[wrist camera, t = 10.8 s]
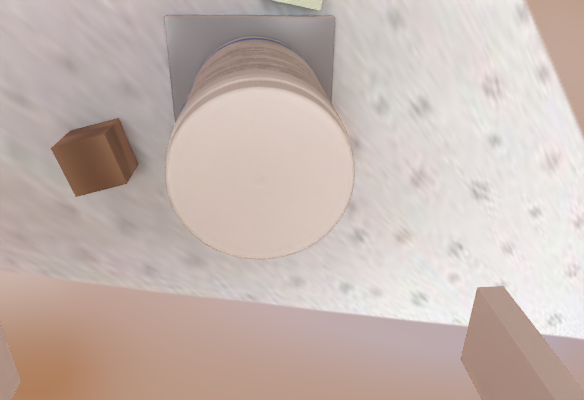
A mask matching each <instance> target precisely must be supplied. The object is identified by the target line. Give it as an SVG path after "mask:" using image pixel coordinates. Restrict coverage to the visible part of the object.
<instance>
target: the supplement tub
mask: <svg viewBox="0 0 584 400" xmlns="http://www.w3.org/2000/svg"><path fill="white" fill-rule="evenodd" d="M354 177H355V168H354V159H353V155H352V150H351V145H350V142H349V138H348V135H347V132H346V130H345V128H344V126H343V124H342V122H341V120H340V118H339V116H338V114H337V112H336V111H335V109H334V107H333V105H332V104H331V102H330V100H329V98H328V97H327V95H326V93H325V91H324V90H323V88H322V86H321V84H320V83H319V81H318V79H317V77H316V75H315V74H314V72H313V70H312V69H311V67H310V66H309V64H308V63H307V62H306V61H305V59H304V58H303V57H302V56H301V55H300V54H299V53H298V52H297V51H295V50H294V49H293V48H291V47H290V46H288V45H286V44H284V43H282V42H280V41H278V40H275V39H271V38H267V37H257V36H251V37H243V38H238V39H235V40H233V41H230V42H228V43H226V44H224V45H222V46H220V47H219V48H218V49H216V50H215V51H214V52H213V53H212V54H211V55H210V56H209V57H208V58H207V59H206V60H205V61H204V63H203V64H202V66H201V67H200V69H199V71H198V73H197V75H196V77H195V79H194V81H193V84H192V86H191V88H190V90H189V93H188V95H187V97H186V99H185V101H184V104H183V106H182V108H181V111H180V113H179V115H178V117H177V120H176V122H175V125H174V127H173V130H172V133H171V136H170V140H169V143H168V148H167V154H166V166H165V181H166V188H167V193H168V196H169V199H170V202H171V204H172V207H173V209H174V211H175V213H176V214H177V216H178V217H179V219H180V220H181V222H182V223H183V224H184V226H185V227H186V228H187V229H188V230H189V231H190V232H191V233H192V234H193V235H194V236H195V237H197V238H198V239H199V240H201V241H202V242H203V243H205V244H207V245H208V246H210V247H212V248H214V249H216V250H218V251H220V252H223V253H226V254H229V255H232V256H236V257H240V258H247V259H273V258H278V257H283V256H287V255H290V254H293V253H296V252H299V251H301V250H303V249H306V248H307V247H309V246H311V245H313V244H314V243H316V242H317V241H319V240H320V239H321V238H323V237H324V236H325V235H326V234H327V233H328V232H329V231H330V230H331V229H332V228H333V227H334V226H335V225H336V224H337V222H338V221H339V219H340V218H341V216H342V215H343V213H344V211H345V210H346V208H347V205H348V203H349V200H350V198H351V195H352V191H353V186H354Z"/></svg>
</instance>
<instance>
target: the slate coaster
mask: <svg viewBox="0 0 584 400" xmlns="http://www.w3.org/2000/svg"><path fill="white" fill-rule="evenodd" d="M164 22H165V32H166V41H167V50H168V60H169V69H170V79H171V88H172V98H173V107H174V116H175V122H176V120H177V117H178V115H179V113H180V111H181V108H182V106H183V104H184V101H185V99H186V97H187V95H188V93H189V90H190V88H191V86H192V84H193V81H194V79H195V77H196V75H197V73H198V71H199V69H200V67H201V66H202V64H203V63H204V61H205V60H206V59H207V58H208V57H209V56H210V55H211V54H212V53H213V52H214V51H215V50H216V49H218V48H219V47H220V46H222V45H224V44H226V43H228V42H230V41H233V40H235V39H238V38H243V37H251V36H257V37H267V38H271V39H275V40H278V41H280V42H282V43H284V44H286V45H288V46H290V47H291V48H293V49H294V50H295V51H297V52H298V53H299V54H300V55H301V56H302V57H303V58H304V59H305V61H306V62H307V63H308V64H309V66H310V67H311V69H312V70H313V72H314V74H315V75H316V77H317V79H318V81H319V83H320V84H321V86H322V88H323V90H324V91H325V93H326V95H327V97H328V98H329V100H330V102H331V97H332V76H333V55H334V34H335V17H334V16H294V15H166V16H164Z"/></svg>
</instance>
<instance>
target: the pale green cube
mask: <svg viewBox="0 0 584 400" xmlns="http://www.w3.org/2000/svg"><path fill="white" fill-rule="evenodd" d="M272 1H277V2H282V3H286V4H291V5H296V6H301V7H306V8H310V9H315V10H320V11H321V7H322V2H323V0H272Z"/></svg>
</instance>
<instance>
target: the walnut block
mask: <svg viewBox="0 0 584 400" xmlns="http://www.w3.org/2000/svg"><path fill="white" fill-rule="evenodd" d="M51 149H52V151H53V153H54V155H55V157H56V159H57V161H58V163H59V165H60V167H61V169H62V171H63V173H64V174H65V176H66V178H67V180H68V182H69V184H70V186H71V188H72V190H73V192H74V194H75V196H76V197H77V196H81V195H85V194H89V193H93V192H96V191H100V190H104V189H108V188H112V187H116V186H120V185H124V184H127V182H128V181H129V179H130V177H131V175H132V174H133V172H134V170H135V169H136V167H137V165H138V162H137V160H136V157H135V155H134V153H133V150H132V148H131V146H130V144H129V141H128V139H127V137H126V134H125V132H124V130H123V127H122V125H121V123H120V120H119V118H117V119H114V120H110V121H106V122H102V123H98V124H95V125H91V126H87V127H83V128H80V129H76V130H72V131H70V132H69V133H67V134H66V135H65V136H64V137H63V138H62V139H61V140H60V141H59V142H57V143H56V144H55V145H54V146H53V147H52V148H51Z"/></svg>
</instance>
